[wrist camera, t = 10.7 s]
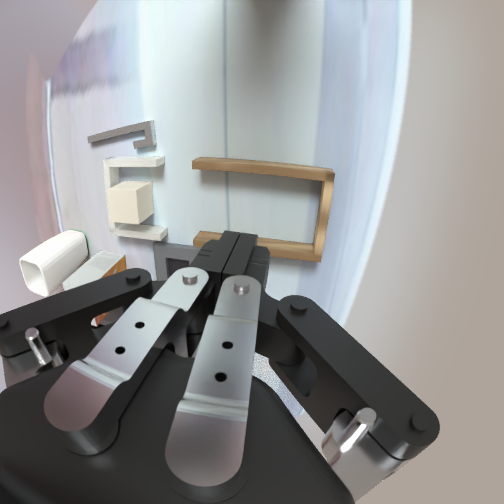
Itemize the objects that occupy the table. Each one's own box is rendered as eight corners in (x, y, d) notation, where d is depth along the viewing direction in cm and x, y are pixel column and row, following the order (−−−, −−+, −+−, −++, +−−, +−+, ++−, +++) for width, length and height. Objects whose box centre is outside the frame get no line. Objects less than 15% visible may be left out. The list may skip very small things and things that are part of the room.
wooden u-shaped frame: (200, 157, 42) (192, 160, 39) (332, 169, 40) (334, 173, 37) (200, 237, 48) (193, 246, 45) (319, 251, 46) (320, 262, 43)
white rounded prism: (88, 228, 51) (40, 264, 38) (93, 260, 54) (50, 299, 41) (64, 224, 52) (17, 256, 39) (70, 254, 55) (27, 290, 42)
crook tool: (91, 135, 42) (87, 136, 41) (153, 120, 40) (150, 120, 39) (94, 157, 44) (90, 158, 43) (156, 144, 42) (153, 145, 41)
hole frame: (155, 241, 50) (152, 244, 49) (203, 247, 49) (201, 250, 48) (160, 283, 54) (158, 287, 53) (204, 291, 53) (202, 295, 52)
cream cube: (125, 180, 45) (107, 189, 41) (152, 181, 45) (136, 190, 40) (127, 210, 48) (111, 221, 43) (154, 212, 47) (138, 224, 43)
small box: (130, 288, 56) (97, 328, 45) (105, 282, 57) (71, 318, 45) (125, 254, 52) (87, 291, 41) (100, 248, 53) (61, 282, 41)
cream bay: (113, 156, 44) (103, 160, 41) (164, 156, 42) (156, 159, 40) (119, 228, 50) (110, 234, 47) (167, 233, 49) (160, 240, 46)
